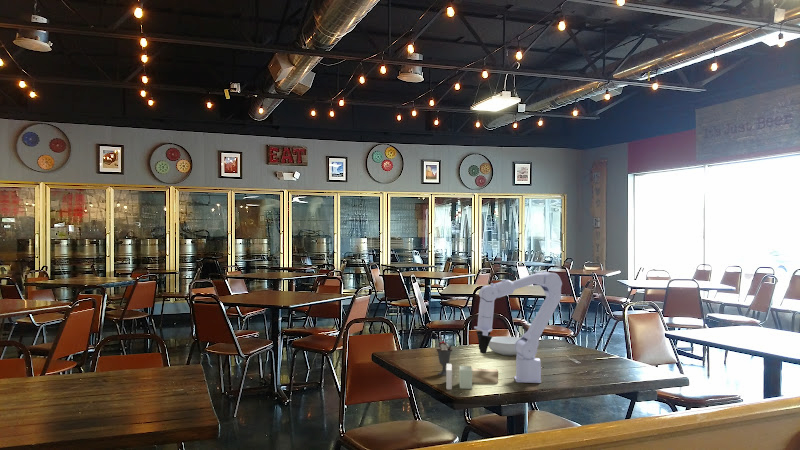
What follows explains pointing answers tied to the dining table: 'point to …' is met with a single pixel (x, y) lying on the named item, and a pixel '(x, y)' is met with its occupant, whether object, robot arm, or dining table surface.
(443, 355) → the sundae
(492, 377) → the peg
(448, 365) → the wall
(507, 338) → the serving bowl
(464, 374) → the block
